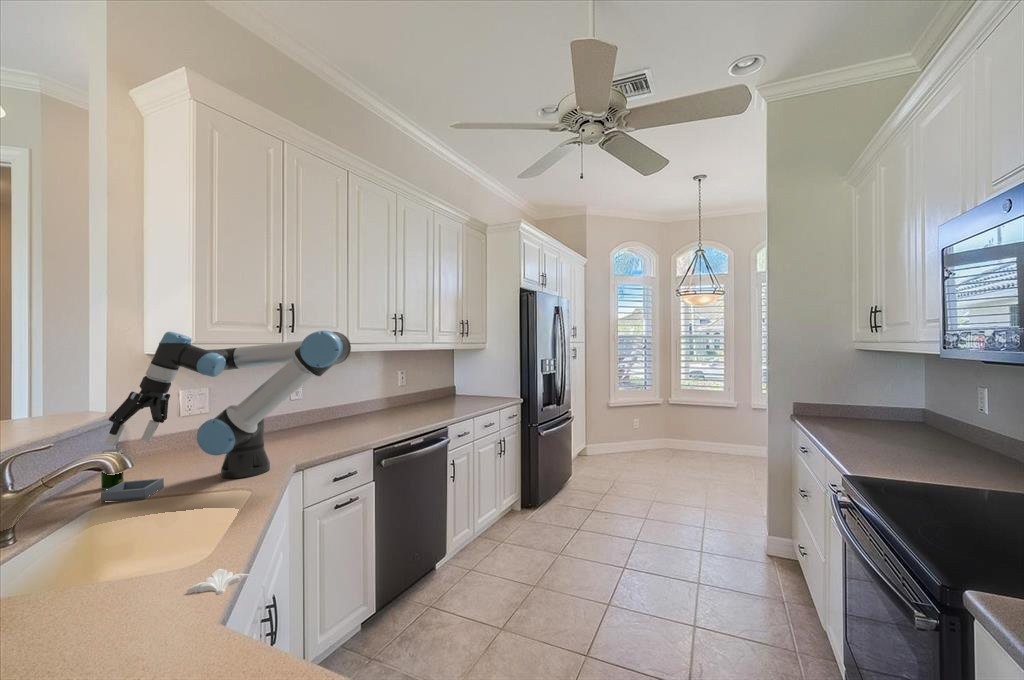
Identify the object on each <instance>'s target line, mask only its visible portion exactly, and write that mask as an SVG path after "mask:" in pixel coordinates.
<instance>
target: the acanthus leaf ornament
mask: <svg viewBox="0 0 1024 680" xmlns="http://www.w3.org/2000/svg"><path fill="white" fill-rule="evenodd" d="M249 576H250V574H248V573H236V574H233V572H232V571H228V570H227V569H223V568H218V569H216V570H215V571H213V573H211V574H210V576H208V577H206V578H205V581H202V582H199V583H196V584H194V585H193V586H191V587H189V588H188V589H187V590H186V594H192V593H195V594H196V593H203V592H215V594H216V595H221V594H222V595H223V594H224V593H225V592H226V589H227V588H228V587H229V586H231V585H233V584H235V583H238V582H240V581H241V580H244V579H245V578H247V577H249Z"/></svg>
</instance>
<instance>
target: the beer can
mask: <svg viewBox="0 0 1024 680" xmlns="http://www.w3.org/2000/svg"><path fill="white" fill-rule="evenodd" d="M104 452H117V453H121V454H123V455H124V452H123V449H122V448H112V449H107V450H103V451H101V454H102V453H104ZM100 473H101V474H100V475H101V476H100V477H101V478H100V479H101V481H100V482H101V489H102V490H103V489H104V490H103V491H106V489H110V488H111V487H113V486H115V485H117V484H119V483H121V482H123V481H124V471H123V472H122V473H119V474H115V475H107V474H105V473H103V472H101V471H100Z"/></svg>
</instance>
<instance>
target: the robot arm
mask: <svg viewBox="0 0 1024 680" xmlns="http://www.w3.org/2000/svg"><path fill="white" fill-rule="evenodd" d="M351 351H352V346H351V342H350V340H349V338H348V337H347V336H346V335H345V334H344V333H342V332H338V331H330V330H319V331H314V332H312V333H310V334H308V335H307V336H305V338H304V339H303V340H298V341H289V342H277V343H271V344H270V343H269V344H260V345H259V344H257V345H252V346H239V347H230V348H229V347H228V348H219V349H217V348H216V349H215V348H214V349H205V348H201V347H198V346H195V345H192V337H190V336H187V335H185V334H182V333H177V332H174V331H166V332H165V333H164V334H163V336H162V338H161V340H160V341H159V342H158V346H157V349H156V350H155V352H154V355H153V357H152V359H151V362H150V363H149V366H148V368H147V370H146V372H145V376H143V377H142V379H141V382H140V384H139V388H140V389H141V390H140V391H139V392H135V391H131V392H130V393H129V394H128V396H127V398H126V399H125V400H124V401H123V402H122V403H121V404H120V405H119V407H118V408H117V409H116V410H115V411H114V412H113V413H112V414H111V416H109V418H108V421H109V422H111V423H113V424H112V425H111V428H110V430H109V433H108V435H107V438H106V440H105V442H104V444H105V445H108V446H112V447H116V445H117V444H118V441H119V439H120V437H121V435H122V432H123V430H124V428H125V426H126V422H128V421H129V420H130V419H131V418H132V417H134V415H136V414H137V412H139V411H140V410H143V409H145V408H149V409H150V415H151V419H150V420H149V421H148V423H147V425H146V428H145V430H144V432H143V434H142V436H141V438H140V439H141V440H143V441H146V442H148V443H151V441H152V439H153V437H154V434H155V432H156V430H157V429H158V427H159V424H160V423H161V424H164V422H165V421H166V420H167V419H168V408H169V400H170V398H171V394H170V393H168V392H169V390H170V388H171V386H172V382H174V380H175V377H176V375H177V373H178V371H179V368H180V367H181V368H184V369H187V370H190V371H192V372H196V373H198V374H200V375H203V376H208V377H210V378H211V377H212V378H215V377H217V376H218V375H220V374H222V372H223V371H231V370H239V369H248V368H259V367H267V366H275V365H278V366H279V365H283V367H281V368H280V369H279V370H278V371H276V372H275V373H273V375H272V376H271V377H269V378H268V379H267V380H266V381H265V382H264V383H262V384H261V385H260V386H258V387H257V388H256V389H255V390H254V391H253V392H252V393H250V394H249V395H248V396H247V397H246V398H245V399H243V400H242V401H241V402H240V403H239V404H237V405H232V404H231V405H229V406H227V407H226V408H225V409H223V411H221V412H220V413H219V414H218V415H216V416H215V417H214V418H212V419H211V418H210V419H208V420H206V421H205V422H203V423H202V424H201V425H200V426H199V427H198V429H197V433H196V442H197V444H198V446H199V448H200V450H202V451H203V452H204V453H206V454H208V455H210V456H223V455H225V456H224V459H223V461H222V465H221V468H220V476H221V478H225V479H240V478H248V477H249V478H250V477H253V476H259V475H261V474H264V473H267V472H268V471H269V470H271V462H270V460H269V457H268V454H267V451H266V449H265V418H266V417H267V416H268V415H270V413H272V412H273V411H274V410H276V409H277V408H278V407H279V406H280V405H281V404H283V402H284V401H286V400H288V399H289V398H290V397H291V396H292V395H294V393H296V392H297V390H299V389H300V388H301V387H302V386H303V385H305V384H306V383H307V382H308V381H309V380H311V379H312V378H314V377H315V378H320V377H322V376H323V374H325V373H326V372H327V371H329V370H330V369H331V368H332V367H333V366H335V365H339V364H341V363H342V364H343V362H345V361H346V360H347V359H348V358H349V357H350V354H351Z"/></svg>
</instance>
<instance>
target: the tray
mask: <svg viewBox="0 0 1024 680" xmlns="http://www.w3.org/2000/svg"><path fill="white" fill-rule="evenodd" d="M164 479H165V478H164V477H163V478H152V479H151V478H150V479H137V480H136V479H135V480H126V481H123V482H121V483H119V484H117V485H115V486H113V487H111V488H110V489H108V490H103V491H102V492H100V503H101V502H105V501H120V502H129V501H139V500H140V501H141V500H146V499H148V498H149V497H150V496H149V495H151V494H153V493H154V492H156V491H157V490H159V489H161V488H162V487H164V488H165V480H164ZM162 489H163V488H162ZM162 489H161V490H162ZM159 491H160V490H159ZM157 492H158V491H157ZM157 492H156V493H157ZM154 494H155V493H154ZM154 494H153V495H154ZM148 496H149V497H148ZM151 496H152V495H151ZM147 497H148V498H147Z"/></svg>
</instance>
